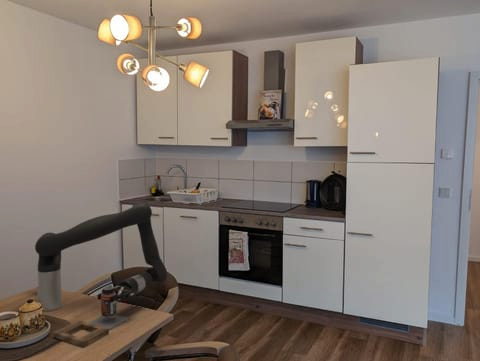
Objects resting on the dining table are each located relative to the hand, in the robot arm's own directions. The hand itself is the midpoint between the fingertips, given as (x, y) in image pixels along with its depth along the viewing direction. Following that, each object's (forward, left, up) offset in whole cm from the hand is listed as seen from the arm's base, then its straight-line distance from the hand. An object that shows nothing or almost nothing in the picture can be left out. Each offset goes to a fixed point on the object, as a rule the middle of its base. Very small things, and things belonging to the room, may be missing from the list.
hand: (104, 298), depth 163 cm
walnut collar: (0, -12, -10) cm, 16 cm away
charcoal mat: (0, +2, -10) cm, 11 cm away
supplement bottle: (0, +3, -8) cm, 8 cm away
